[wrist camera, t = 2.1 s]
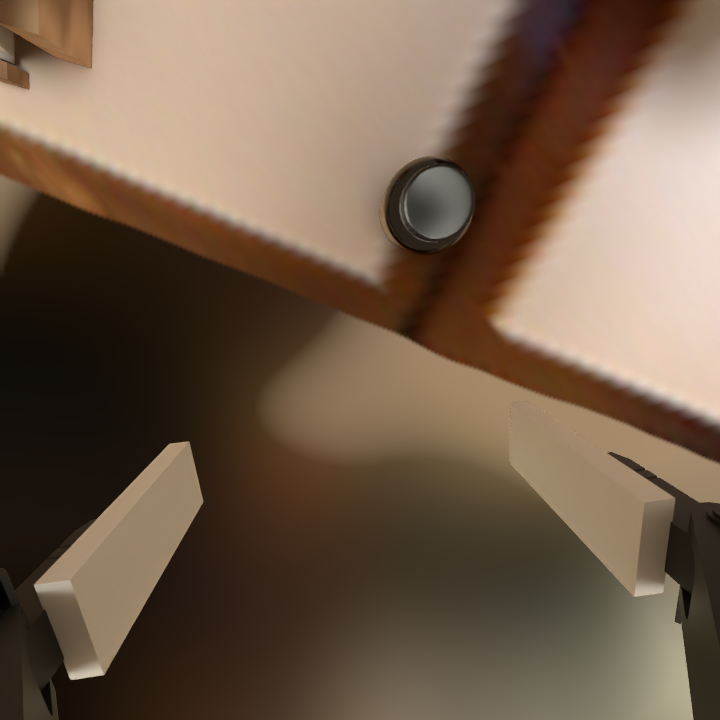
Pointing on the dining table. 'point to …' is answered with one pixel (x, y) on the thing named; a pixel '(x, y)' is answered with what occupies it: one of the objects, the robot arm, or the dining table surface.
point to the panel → (6, 45)
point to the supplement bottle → (428, 205)
